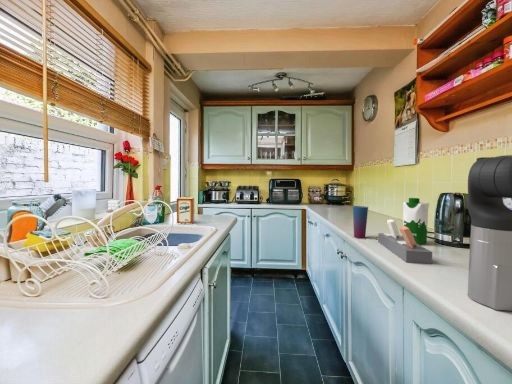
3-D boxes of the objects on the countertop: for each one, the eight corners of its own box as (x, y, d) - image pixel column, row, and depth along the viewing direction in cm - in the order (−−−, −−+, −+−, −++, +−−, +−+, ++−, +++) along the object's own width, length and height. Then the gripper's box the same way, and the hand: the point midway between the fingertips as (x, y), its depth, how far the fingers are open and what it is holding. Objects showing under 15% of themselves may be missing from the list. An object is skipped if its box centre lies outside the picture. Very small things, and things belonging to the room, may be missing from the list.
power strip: (431, 263, 83) (432, 251, 83) (405, 262, 84) (406, 249, 84) (390, 238, 118) (391, 229, 118) (373, 238, 119) (373, 229, 119)
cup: (368, 239, 117) (369, 207, 116) (353, 238, 118) (354, 207, 118) (365, 236, 124) (366, 206, 123) (350, 235, 125) (351, 205, 124)
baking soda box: (194, 221, 161) (194, 197, 160) (192, 223, 154) (192, 197, 154) (179, 222, 160) (179, 197, 159) (176, 223, 154) (176, 197, 153)
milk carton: (399, 241, 113) (400, 197, 112) (408, 239, 118) (410, 197, 117) (420, 246, 106) (422, 199, 105) (429, 243, 111) (431, 198, 110)
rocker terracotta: (417, 246, 86) (409, 228, 86) (412, 248, 87) (403, 230, 87) (411, 243, 91) (403, 225, 91) (407, 245, 91) (398, 227, 91)
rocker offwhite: (400, 237, 100) (394, 220, 100) (396, 238, 100) (390, 222, 100) (396, 235, 104) (390, 219, 104) (391, 236, 105) (386, 220, 105)
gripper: (523, 150, 82) (464, 151, 84) (566, 145, 69) (495, 146, 71) (521, 173, 82) (463, 173, 85) (564, 172, 69) (494, 172, 72)
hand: (478, 161), depth 78 cm, fingers closed
